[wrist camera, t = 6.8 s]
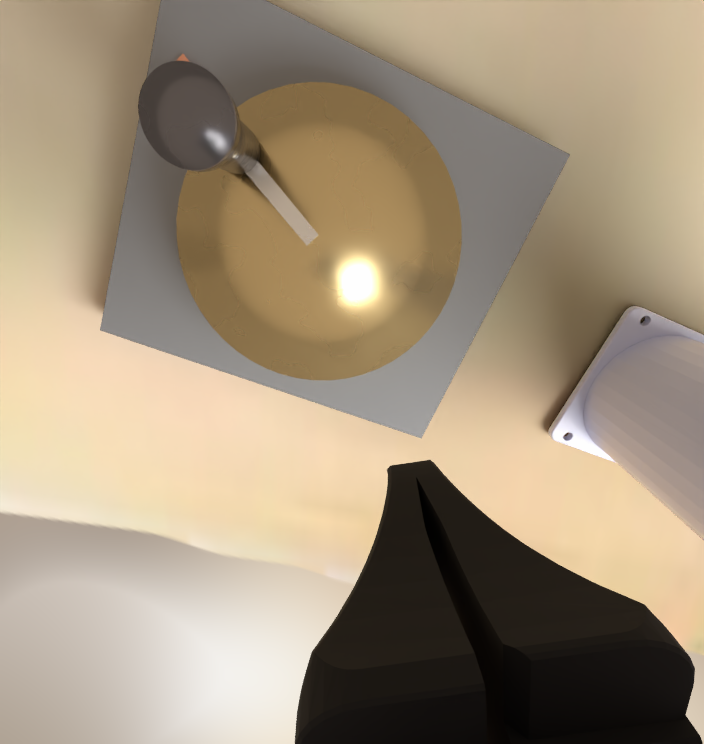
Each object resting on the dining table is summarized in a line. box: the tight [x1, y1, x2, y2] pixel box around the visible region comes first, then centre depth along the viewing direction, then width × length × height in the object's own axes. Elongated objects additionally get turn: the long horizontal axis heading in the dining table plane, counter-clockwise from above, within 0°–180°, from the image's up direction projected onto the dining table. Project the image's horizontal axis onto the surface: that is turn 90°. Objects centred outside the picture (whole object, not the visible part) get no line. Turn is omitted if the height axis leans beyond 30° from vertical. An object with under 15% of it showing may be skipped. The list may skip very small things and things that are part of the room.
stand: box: [100, 0, 570, 438], centre depth 18 cm, size 16×14×2 cm
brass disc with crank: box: [138, 61, 462, 380], centre depth 14 cm, size 11×11×7 cm
